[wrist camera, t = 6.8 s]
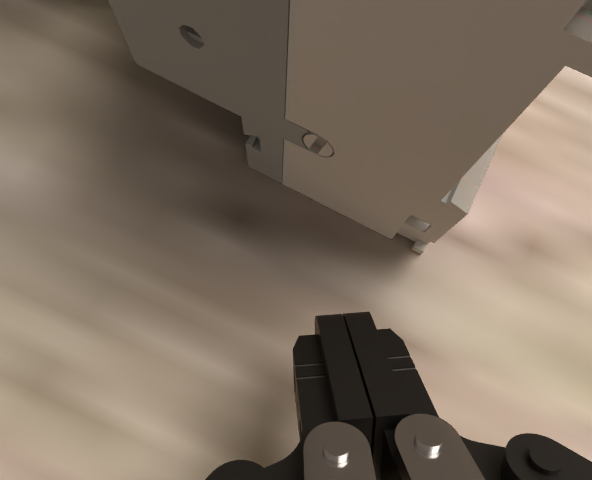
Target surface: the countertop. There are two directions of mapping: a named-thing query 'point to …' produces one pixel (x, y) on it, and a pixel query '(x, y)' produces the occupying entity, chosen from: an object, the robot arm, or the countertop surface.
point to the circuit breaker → (367, 90)
